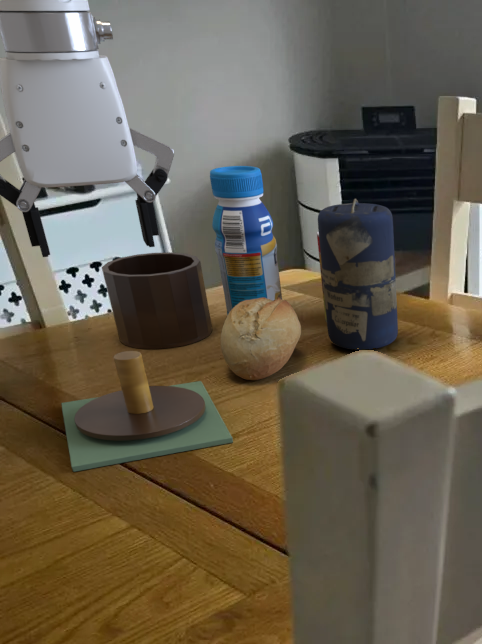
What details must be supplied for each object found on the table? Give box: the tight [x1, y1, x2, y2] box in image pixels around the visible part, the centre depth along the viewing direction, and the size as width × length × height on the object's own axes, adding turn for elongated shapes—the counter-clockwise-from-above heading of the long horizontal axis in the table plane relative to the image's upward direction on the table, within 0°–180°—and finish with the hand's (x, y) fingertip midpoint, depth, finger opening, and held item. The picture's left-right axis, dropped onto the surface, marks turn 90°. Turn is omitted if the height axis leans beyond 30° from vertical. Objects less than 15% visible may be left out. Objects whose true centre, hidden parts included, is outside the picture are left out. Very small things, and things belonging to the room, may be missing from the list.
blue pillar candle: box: [317, 198, 399, 351], centre depth 107 cm, size 10×10×18 cm
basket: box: [101, 251, 213, 350], centre depth 114 cm, size 13×13×10 cm
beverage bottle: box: [209, 165, 283, 317], centre depth 115 cm, size 8×8×20 cm
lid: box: [74, 350, 205, 441], centre depth 89 cm, size 14×14×7 cm
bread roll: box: [220, 297, 302, 381], centre depth 104 cm, size 10×15×8 cm, turn 0°
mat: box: [60, 380, 234, 473], centre depth 91 cm, size 16×18×1 cm
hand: (98, 248), depth 81 cm, fingers open, 9 cm apart
